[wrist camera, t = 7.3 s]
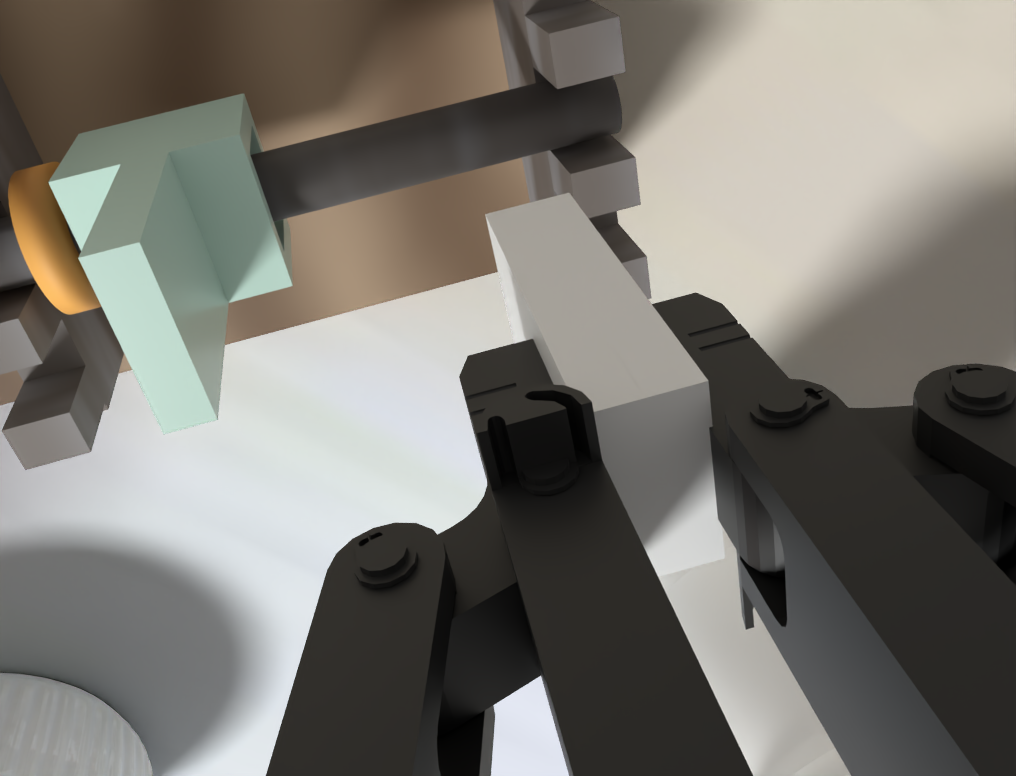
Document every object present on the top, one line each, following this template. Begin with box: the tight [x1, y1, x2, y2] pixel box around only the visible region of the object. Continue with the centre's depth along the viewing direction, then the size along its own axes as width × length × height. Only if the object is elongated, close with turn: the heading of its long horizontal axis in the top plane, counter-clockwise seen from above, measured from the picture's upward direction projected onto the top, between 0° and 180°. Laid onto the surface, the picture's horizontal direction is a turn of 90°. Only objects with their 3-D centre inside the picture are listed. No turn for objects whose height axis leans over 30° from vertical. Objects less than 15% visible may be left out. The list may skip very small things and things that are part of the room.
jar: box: [658, 527, 851, 776], centre depth 33 cm, size 11×10×15 cm
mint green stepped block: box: [48, 93, 293, 434], centre depth 20 cm, size 4×4×9 cm
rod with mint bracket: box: [0, 0, 651, 470], centre depth 24 cm, size 20×12×8 cm, turn 101°
